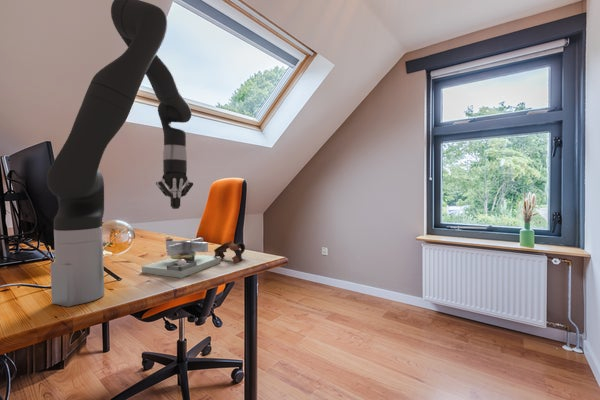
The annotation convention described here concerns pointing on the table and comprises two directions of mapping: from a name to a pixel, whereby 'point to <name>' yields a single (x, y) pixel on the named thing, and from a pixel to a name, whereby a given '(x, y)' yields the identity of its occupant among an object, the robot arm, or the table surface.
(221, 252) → the gnarled brown arch
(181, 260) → the ball
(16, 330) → the table surface
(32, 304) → the table surface
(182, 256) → the capstan
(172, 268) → the stand
